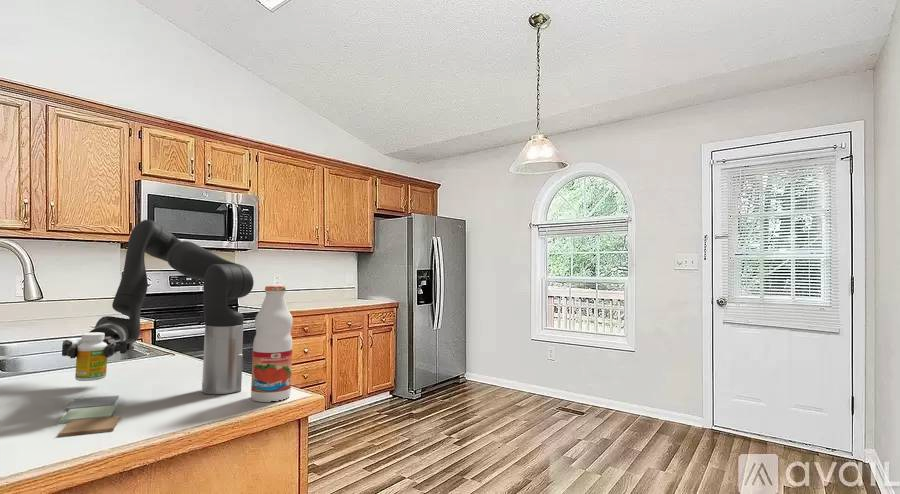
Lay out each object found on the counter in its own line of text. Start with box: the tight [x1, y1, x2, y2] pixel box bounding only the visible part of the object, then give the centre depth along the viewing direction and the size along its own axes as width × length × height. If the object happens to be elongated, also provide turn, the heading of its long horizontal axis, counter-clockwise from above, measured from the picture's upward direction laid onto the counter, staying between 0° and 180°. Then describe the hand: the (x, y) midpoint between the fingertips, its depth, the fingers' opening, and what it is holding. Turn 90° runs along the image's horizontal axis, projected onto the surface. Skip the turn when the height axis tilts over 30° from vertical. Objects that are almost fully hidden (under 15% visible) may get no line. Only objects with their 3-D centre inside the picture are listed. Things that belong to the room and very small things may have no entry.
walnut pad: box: [58, 415, 121, 438], centre depth 96 cm, size 8×8×1 cm
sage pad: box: [59, 404, 118, 424], centre depth 104 cm, size 8×8×1 cm
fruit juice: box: [250, 285, 294, 403], centre depth 121 cm, size 9×9×28 cm
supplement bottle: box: [74, 332, 108, 382], centre depth 104 cm, size 5×5×10 cm
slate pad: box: [65, 394, 120, 412], centre depth 112 cm, size 8×8×1 cm
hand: (90, 352), depth 102 cm, fingers closed on supplement bottle, 5 cm apart
